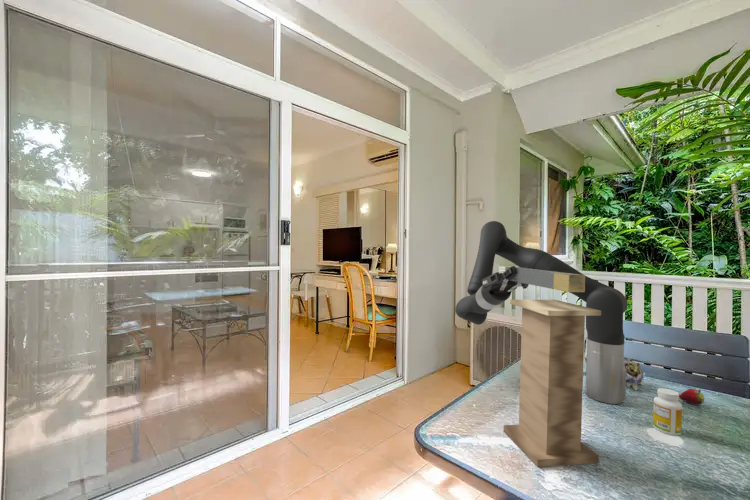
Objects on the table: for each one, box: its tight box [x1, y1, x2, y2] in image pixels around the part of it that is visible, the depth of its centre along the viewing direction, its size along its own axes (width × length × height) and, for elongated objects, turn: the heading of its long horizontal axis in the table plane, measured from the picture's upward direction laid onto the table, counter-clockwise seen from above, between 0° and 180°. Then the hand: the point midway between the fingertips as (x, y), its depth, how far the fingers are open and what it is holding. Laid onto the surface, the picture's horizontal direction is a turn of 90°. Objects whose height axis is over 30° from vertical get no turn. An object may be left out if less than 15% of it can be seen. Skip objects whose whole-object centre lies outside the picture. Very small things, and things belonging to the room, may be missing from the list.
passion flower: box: [624, 357, 646, 392], centre depth 110 cm, size 11×11×12 cm
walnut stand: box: [503, 299, 601, 468], centre depth 74 cm, size 14×14×32 cm
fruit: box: [679, 388, 705, 406], centre depth 98 cm, size 4×6×5 cm
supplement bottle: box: [652, 387, 683, 436], centre depth 82 cm, size 5×5×10 cm
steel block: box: [504, 266, 586, 293], centre depth 79 cm, size 4×24×4 cm, turn 9°
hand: (521, 269), depth 86 cm, fingers closed on steel block, 3 cm apart
